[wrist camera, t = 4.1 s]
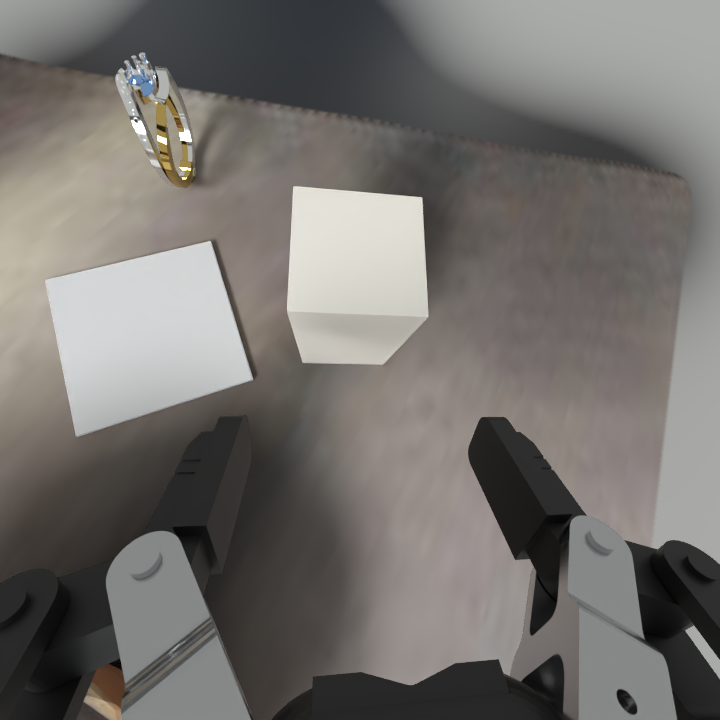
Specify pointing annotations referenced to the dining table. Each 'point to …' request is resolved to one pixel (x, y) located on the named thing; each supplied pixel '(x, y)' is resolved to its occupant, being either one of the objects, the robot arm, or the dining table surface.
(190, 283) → the mat
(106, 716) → the bowl
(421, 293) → the white rectangular block
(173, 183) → the ring
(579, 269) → the dining table surface
